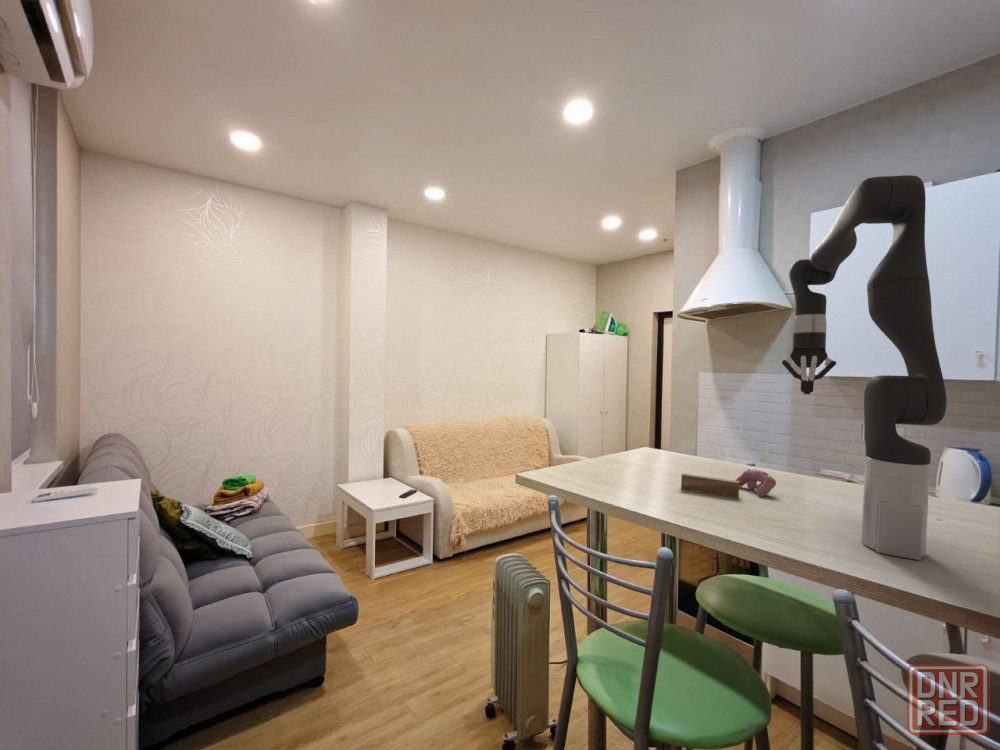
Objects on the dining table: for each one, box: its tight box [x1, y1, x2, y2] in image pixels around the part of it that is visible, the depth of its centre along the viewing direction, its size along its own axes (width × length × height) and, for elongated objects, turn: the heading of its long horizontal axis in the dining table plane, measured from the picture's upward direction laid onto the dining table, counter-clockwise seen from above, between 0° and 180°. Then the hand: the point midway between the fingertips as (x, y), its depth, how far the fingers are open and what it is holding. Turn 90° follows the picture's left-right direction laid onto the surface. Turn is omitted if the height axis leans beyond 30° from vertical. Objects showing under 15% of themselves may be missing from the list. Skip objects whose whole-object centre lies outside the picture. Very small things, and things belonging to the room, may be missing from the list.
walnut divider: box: [680, 472, 740, 499], centre depth 119 cm, size 2×14×4 cm, turn 59°
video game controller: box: [735, 468, 777, 497], centre depth 121 cm, size 10×5×7 cm, turn 14°
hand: (806, 394), depth 122 cm, fingers closed
